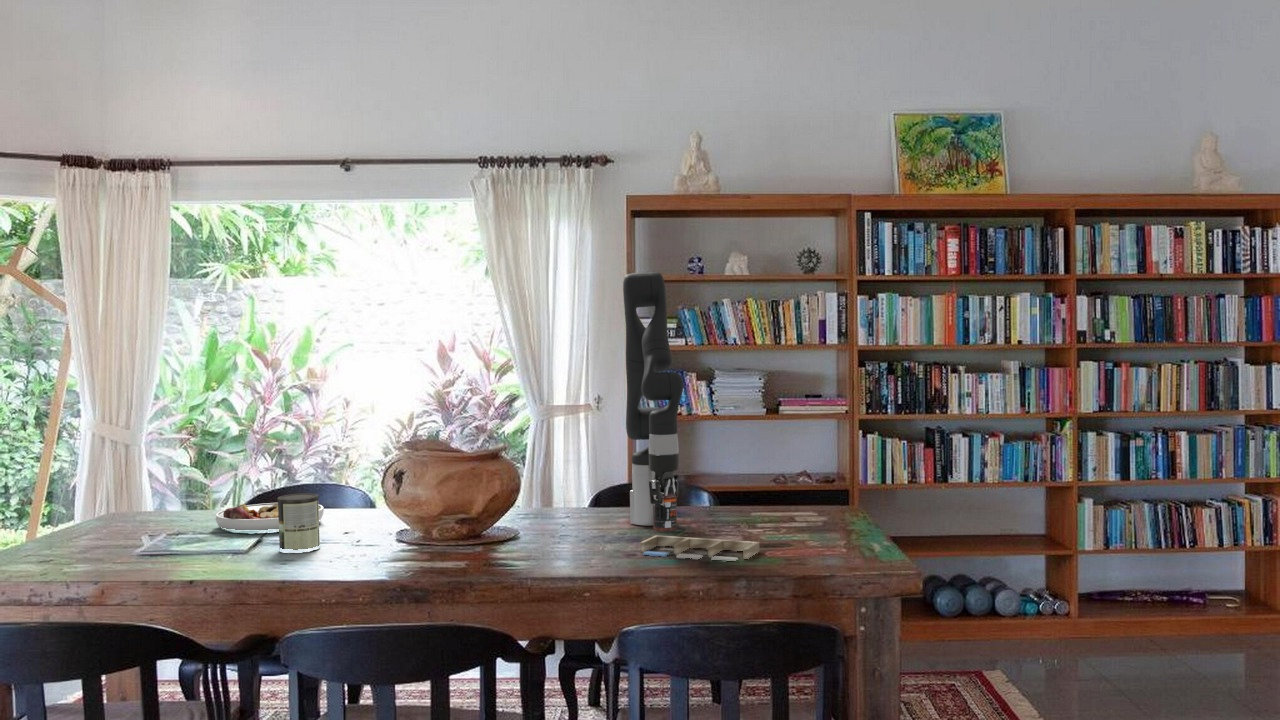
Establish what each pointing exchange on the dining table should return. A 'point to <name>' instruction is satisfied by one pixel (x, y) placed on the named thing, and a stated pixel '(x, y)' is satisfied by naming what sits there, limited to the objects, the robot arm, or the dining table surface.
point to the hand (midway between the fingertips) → (665, 518)
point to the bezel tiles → (689, 556)
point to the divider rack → (701, 545)
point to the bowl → (252, 517)
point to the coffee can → (298, 521)
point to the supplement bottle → (667, 514)
